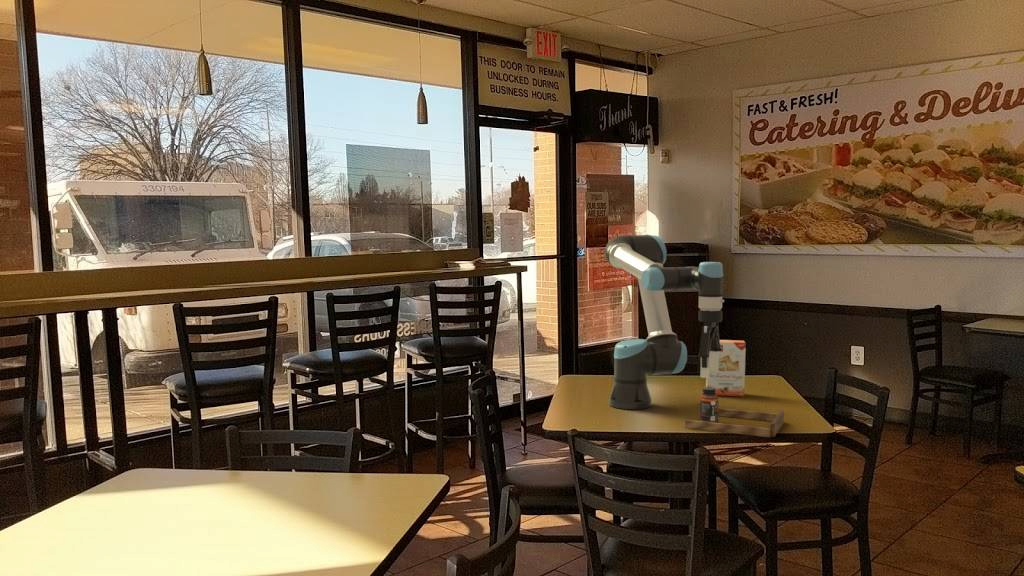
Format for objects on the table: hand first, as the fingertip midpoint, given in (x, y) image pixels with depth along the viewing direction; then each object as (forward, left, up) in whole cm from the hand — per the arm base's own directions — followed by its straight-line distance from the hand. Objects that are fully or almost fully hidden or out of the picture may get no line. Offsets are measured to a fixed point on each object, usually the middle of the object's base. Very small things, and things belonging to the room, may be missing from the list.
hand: (709, 374), depth 258 cm
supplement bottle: (0, 0, -16) cm, 16 cm away
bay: (+8, 0, -16) cm, 18 cm away
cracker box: (-4, +46, -16) cm, 49 cm away
